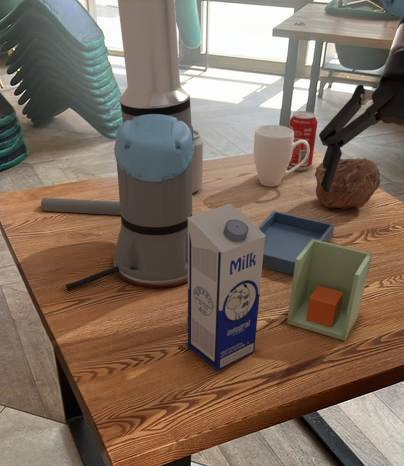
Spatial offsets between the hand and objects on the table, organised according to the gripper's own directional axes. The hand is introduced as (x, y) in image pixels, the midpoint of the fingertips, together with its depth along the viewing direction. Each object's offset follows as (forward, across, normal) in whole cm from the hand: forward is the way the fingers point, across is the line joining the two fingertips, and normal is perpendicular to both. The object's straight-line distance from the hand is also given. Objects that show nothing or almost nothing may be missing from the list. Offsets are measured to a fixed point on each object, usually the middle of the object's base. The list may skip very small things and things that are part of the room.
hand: (367, 196), depth 86 cm
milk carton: (+29, +10, +10) cm, 33 cm away
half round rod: (+10, +55, -8) cm, 57 cm away
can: (-3, +45, -22) cm, 50 cm away
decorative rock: (-9, +12, -32) cm, 35 cm away
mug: (-11, +28, -33) cm, 45 cm away
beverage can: (-19, +29, -42) cm, 54 cm away
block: (+20, 0, 0) cm, 20 cm away
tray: (+7, +15, -14) cm, 21 cm away
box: (+20, +1, 0) cm, 20 cm away
